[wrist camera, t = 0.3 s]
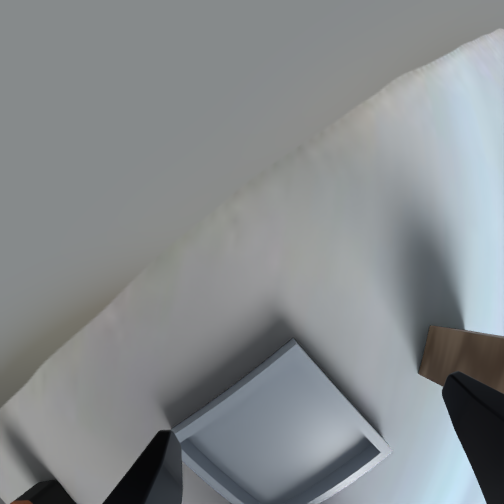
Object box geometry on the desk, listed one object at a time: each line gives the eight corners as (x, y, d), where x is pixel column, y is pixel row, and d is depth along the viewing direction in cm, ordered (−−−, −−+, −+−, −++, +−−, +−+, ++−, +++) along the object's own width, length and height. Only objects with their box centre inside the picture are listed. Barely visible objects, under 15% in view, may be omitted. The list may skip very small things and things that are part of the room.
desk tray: (383, 438, 21) (393, 450, 18) (268, 514, 20) (269, 530, 18) (293, 337, 22) (296, 343, 20) (171, 428, 21) (162, 441, 19)
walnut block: (454, 375, 21) (536, 408, 10) (418, 373, 21) (500, 414, 10) (465, 330, 22) (553, 343, 11) (429, 325, 22) (520, 341, 11)
